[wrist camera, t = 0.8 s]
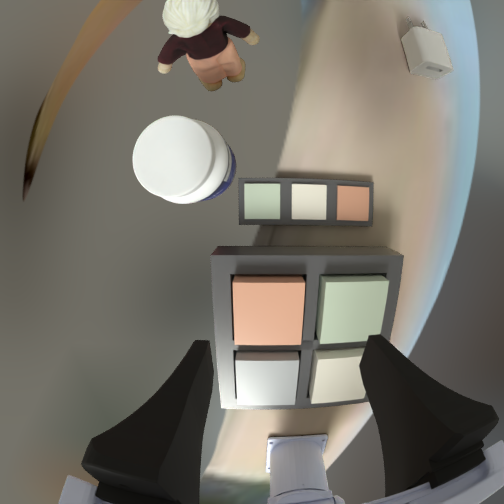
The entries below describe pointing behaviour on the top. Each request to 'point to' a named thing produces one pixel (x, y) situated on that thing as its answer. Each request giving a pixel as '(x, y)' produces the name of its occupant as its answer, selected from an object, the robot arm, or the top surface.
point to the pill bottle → (183, 160)
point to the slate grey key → (266, 377)
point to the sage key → (350, 306)
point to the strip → (305, 202)
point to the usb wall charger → (426, 52)
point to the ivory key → (336, 375)
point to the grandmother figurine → (204, 41)
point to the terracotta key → (268, 309)
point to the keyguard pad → (309, 266)
